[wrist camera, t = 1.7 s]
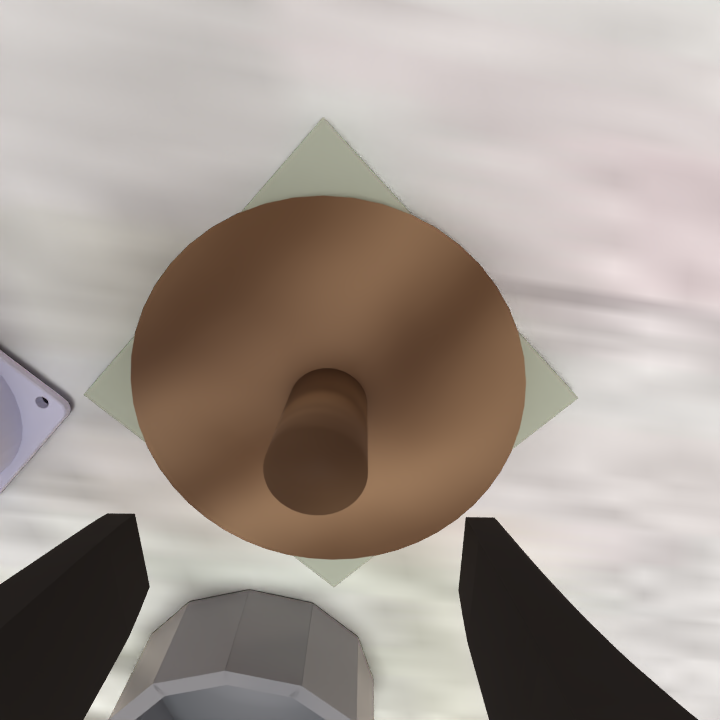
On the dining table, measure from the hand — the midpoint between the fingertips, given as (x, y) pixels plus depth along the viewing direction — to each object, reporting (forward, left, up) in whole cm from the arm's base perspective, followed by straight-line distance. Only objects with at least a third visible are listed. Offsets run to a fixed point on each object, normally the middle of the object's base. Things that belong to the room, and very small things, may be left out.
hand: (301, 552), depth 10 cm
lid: (0, 0, -8) cm, 8 cm away
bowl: (+9, -15, -9) cm, 20 cm away
